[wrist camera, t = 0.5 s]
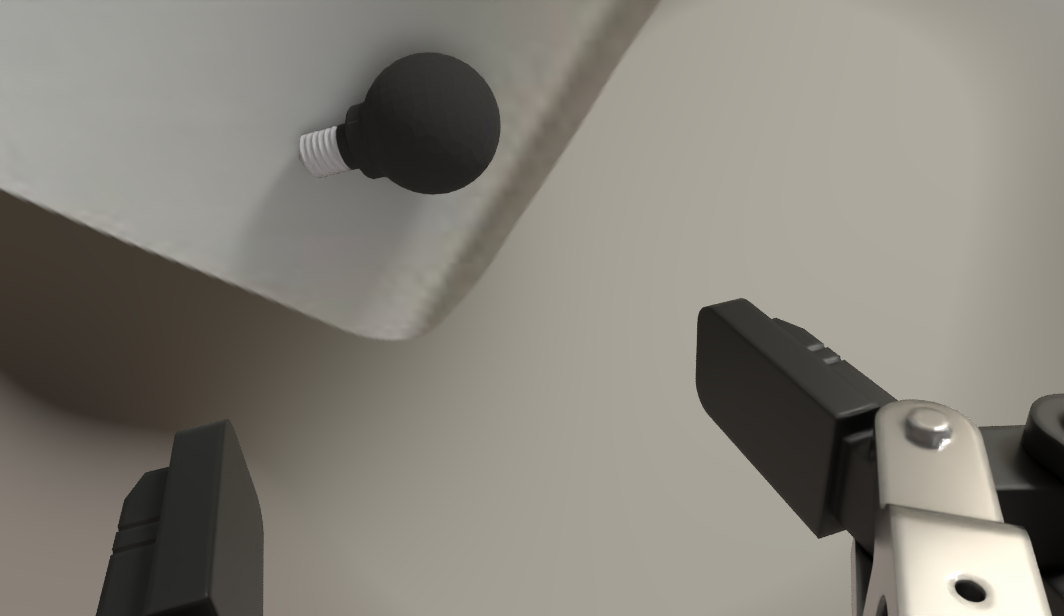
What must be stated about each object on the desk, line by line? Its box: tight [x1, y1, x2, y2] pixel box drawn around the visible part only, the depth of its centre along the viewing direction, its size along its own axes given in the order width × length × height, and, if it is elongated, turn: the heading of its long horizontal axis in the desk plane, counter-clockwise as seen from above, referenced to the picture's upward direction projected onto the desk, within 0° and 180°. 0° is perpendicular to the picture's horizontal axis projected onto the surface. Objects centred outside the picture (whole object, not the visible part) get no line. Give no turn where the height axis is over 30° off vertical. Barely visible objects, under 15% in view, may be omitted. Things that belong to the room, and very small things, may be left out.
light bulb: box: [299, 53, 500, 194], centre depth 35 cm, size 6×6×10 cm
